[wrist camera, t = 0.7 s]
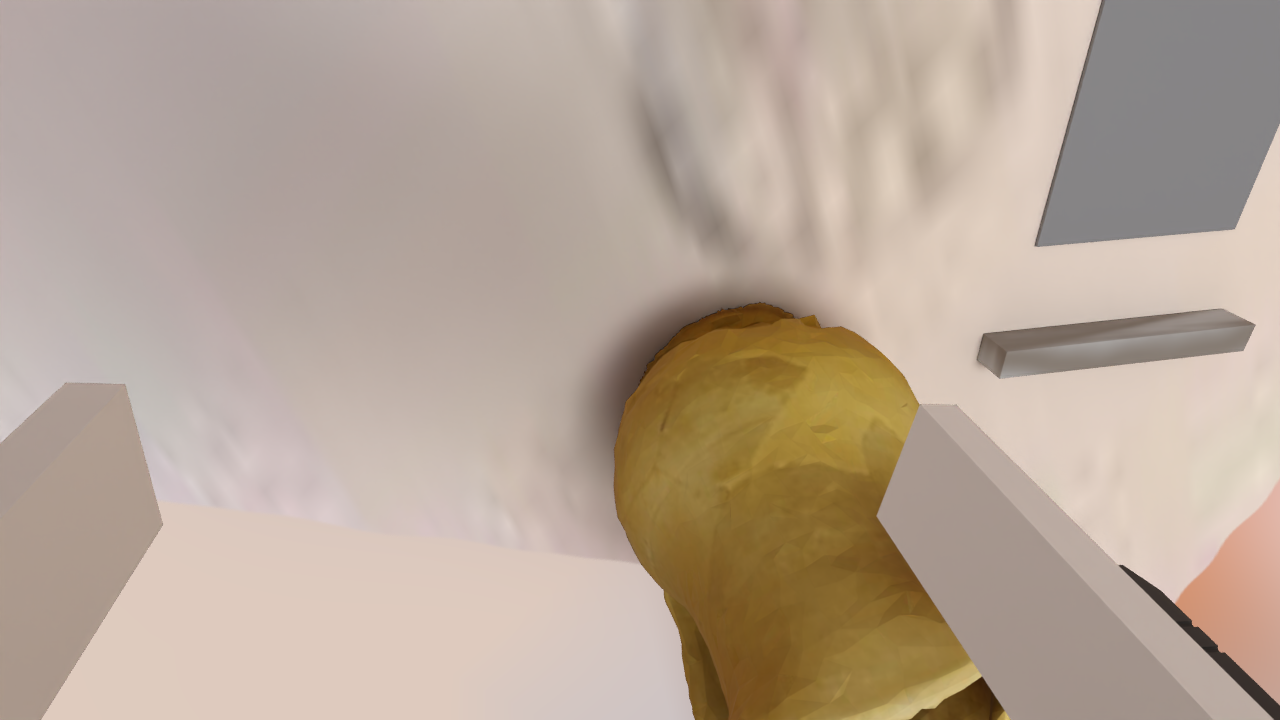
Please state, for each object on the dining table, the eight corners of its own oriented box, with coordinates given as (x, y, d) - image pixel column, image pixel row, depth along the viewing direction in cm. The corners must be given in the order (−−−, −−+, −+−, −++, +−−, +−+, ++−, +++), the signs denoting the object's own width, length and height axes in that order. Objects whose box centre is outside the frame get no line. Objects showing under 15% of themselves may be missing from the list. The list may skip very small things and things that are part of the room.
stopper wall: (983, 333, 45) (1007, 351, 43) (1222, 308, 48) (1255, 324, 46) (977, 359, 46) (999, 378, 44) (1211, 334, 49) (1243, 350, 47)
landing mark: (1105, -9, 36) (1108, -9, 36) (1335, -18, 37) (1339, -18, 37) (1035, 245, 43) (1036, 246, 43) (1231, 228, 44) (1234, 229, 44)
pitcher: (910, 395, 46) (1210, 768, 25) (692, 536, 51) (786, 953, 30) (776, 207, 39) (1043, 512, 17) (534, 393, 43) (506, 815, 22)
